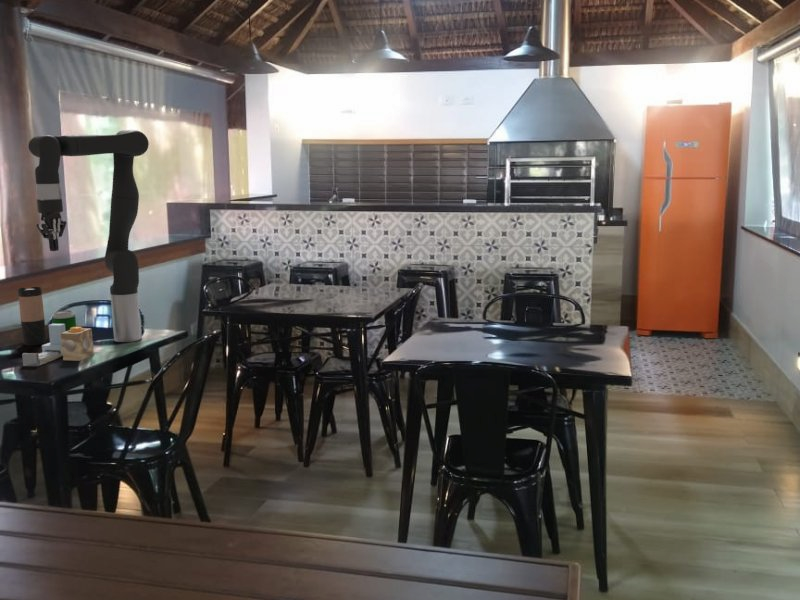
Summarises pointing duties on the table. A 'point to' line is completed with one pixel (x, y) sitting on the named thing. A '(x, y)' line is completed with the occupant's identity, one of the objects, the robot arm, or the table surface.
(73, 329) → the orange rounded piece
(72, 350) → the open wooden box
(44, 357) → the rail
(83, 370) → the table surface
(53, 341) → the carriage
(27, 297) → the travel mug
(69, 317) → the soda can
